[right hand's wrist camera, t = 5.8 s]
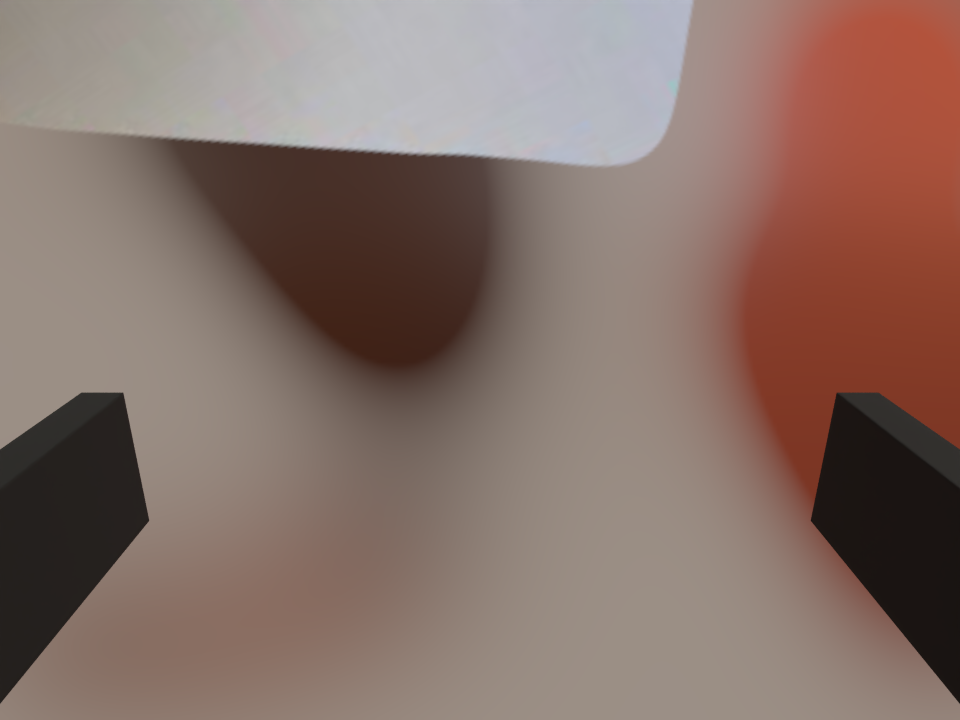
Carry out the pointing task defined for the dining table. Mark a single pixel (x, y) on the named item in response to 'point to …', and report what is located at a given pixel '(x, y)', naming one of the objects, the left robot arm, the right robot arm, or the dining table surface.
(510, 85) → the dining table surface
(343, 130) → the dining table surface
